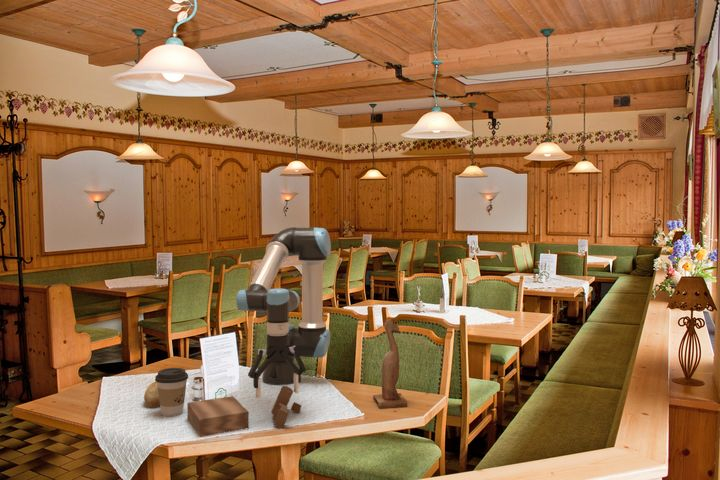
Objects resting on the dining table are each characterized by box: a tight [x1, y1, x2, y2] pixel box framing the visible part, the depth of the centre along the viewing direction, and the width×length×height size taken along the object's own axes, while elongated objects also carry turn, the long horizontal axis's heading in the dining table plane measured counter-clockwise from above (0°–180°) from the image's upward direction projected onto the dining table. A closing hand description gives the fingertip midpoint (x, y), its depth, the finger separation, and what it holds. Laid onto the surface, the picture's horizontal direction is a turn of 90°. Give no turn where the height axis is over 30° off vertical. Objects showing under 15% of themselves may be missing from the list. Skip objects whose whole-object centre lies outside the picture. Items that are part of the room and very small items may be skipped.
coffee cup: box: [154, 367, 189, 417], centre depth 210 cm, size 11×11×15 cm
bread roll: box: [143, 381, 160, 408], centre depth 222 cm, size 10×15×8 cm, turn 177°
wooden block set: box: [270, 385, 302, 429], centre depth 205 cm, size 18×9×10 cm, turn 171°
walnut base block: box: [186, 395, 250, 438], centre depth 201 cm, size 16×18×6 cm
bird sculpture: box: [372, 318, 408, 409], centre depth 222 cm, size 11×12×32 cm
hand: (277, 394), depth 205 cm, fingers open, 13 cm apart
